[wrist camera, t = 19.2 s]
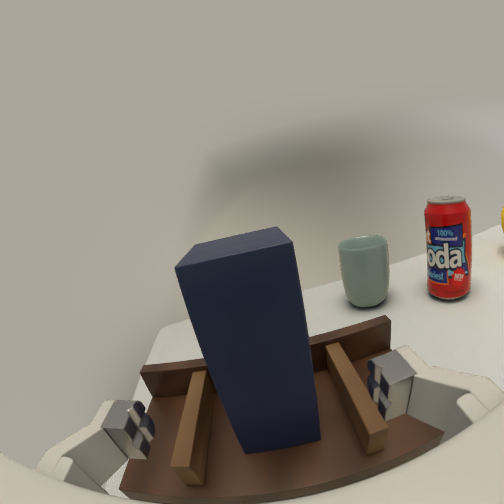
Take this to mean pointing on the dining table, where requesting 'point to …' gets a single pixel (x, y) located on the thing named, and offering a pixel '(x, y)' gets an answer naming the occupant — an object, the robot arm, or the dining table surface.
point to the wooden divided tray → (281, 460)
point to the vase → (502, 218)
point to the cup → (365, 269)
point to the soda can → (448, 246)
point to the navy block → (254, 336)
